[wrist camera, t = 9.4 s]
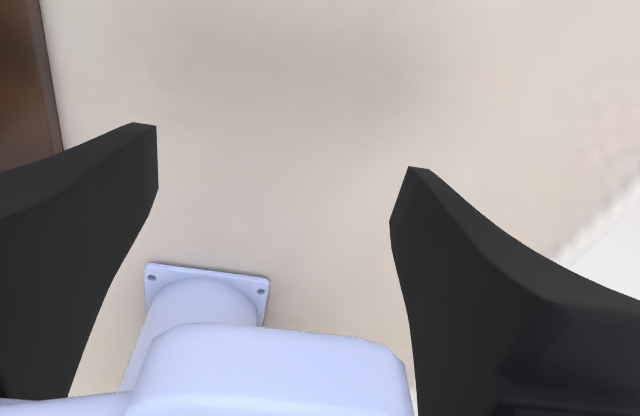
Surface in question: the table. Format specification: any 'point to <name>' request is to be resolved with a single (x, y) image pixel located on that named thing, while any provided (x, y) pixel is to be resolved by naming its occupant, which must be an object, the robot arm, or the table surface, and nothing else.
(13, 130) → the walnut board
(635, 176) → the table surface
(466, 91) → the table surface
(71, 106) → the table surface
